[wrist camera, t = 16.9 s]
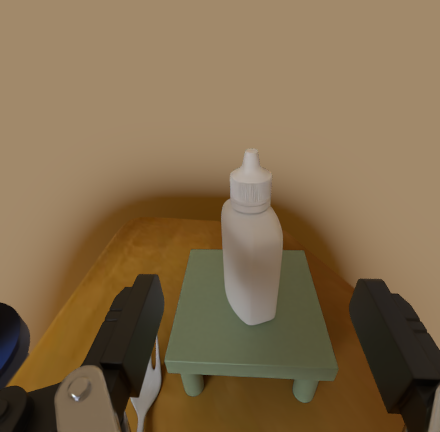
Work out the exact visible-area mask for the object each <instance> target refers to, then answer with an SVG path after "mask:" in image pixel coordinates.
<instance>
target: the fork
mask: <svg viewBox="0 0 440 432" xmlns="http://www.w3.org/2000/svg"><path fill="white" fill-rule="evenodd" d="M160 387H161V367H160V355H159V345H158V336H156V367H155V369H153V368H152V361H151V357H150V361H149V364H148V368H147V371H146V375H145V378H144V382H143V385H142V389H141V392H140V396H139V398H133V397H130V398H131V401H132V403H133V406H134V408H135V410H136V412H137V415H138V429H137V432H144V420H145V416H146V414H147V412H148V410H149V408H150V407H151V405H152V403H153V402H154V400H155V399H156V397H157V395H158V393H159V390H160Z"/></svg>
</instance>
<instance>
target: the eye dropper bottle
mask: <svg viewBox="0 0 440 432" xmlns="http://www.w3.org/2000/svg"><path fill="white" fill-rule="evenodd" d="M271 187H272V173H271V172H270V171H269V170H267V169H266V168H263V167H261V166H260V161H259V154H258V150H257V149H253V148H252V149H246V150H245V154H244V159H243V163H242V166H241V167H239V168H237V169H235V170H234V171H232V172H231V174H230V197H231V199H229V200H227V201H226V202H225V203H224V205H223V208H222V213H221V223H222V245H223V264H224V283H225V291H226V295H227V298H228V301H229V303H230V305H231V307H232V309H233V310H234V312H235V313H236V314H237V315H238V317H239V318H240V319H241V320H242V321H243V322H244V323H246V324H248V325H257V324H260V323H263V322H267V321H270V320H272V319H273V318H274V317H275V314H276V306H277V298H278V289H279V280H280V271H281V262H282V251H283V234H282V229H281V225H280V222H279V220H278V218H277V215H276V214H275V212H274V210H273V209H272V208H271V206H270V200H271Z"/></svg>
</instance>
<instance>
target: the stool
mask: <svg viewBox="0 0 440 432" xmlns="http://www.w3.org/2000/svg"><path fill="white" fill-rule="evenodd" d="M164 362H165V365H166V368H167V371H168V373H180V374H181V378H182V382H183V385H184V389H185V392H186V393H187V394H188V395H189V396H197V395H199V394H200V393H201V392H202V390H203V388H204V380H203V375H221V376H241V377H261V378H281V379H294V383H293V388H292V389H293V394H294V396H295V397H296V398H297V399H298V400H299V401H301V402H304V403H308V402H310V401H311V400H312V399H313V397H314V394H315V391H316V388H317V385H318V382H319V380H322V381H334V379H335V377H336V374H337V372H338V369H339V368H338V365H337V362H336V358H335V355H334V351H333V348H332V345H331V341H330V338H329V334H328V331H327V328H326V324H325V321H324V317H323V314H322V311H321V307H320V304H319V300H318V297H317V294H316V290H315V287H314V283H313V280H312V277H311V273H310V270H309V266H308V263H307V260H306V256H305V253H304V251H303V250H283V251H282V262H281V271H280V280H279V289H278V298H277V306H276V314H275V317H274V318H273V319H272V320H270V321H267V322H263V323H260V324H257V325H248V324H246V323H244V322H243V321H242V320H241V319H240V318H239V317H238V315H237V314H236V313H235V312H234V310H233V309H232V307H231V305H230V303H229V301H228V298H227V295H226V291H225V283H224V264H223V250H208V249H191V252H190V256H189V260H188V264H187V268H186V273H185V277H184V281H183V285H182V289H181V293H180V297H179V302H178V306H177V310H176V314H175V318H174V322H173V327H172V331H171V335H170V339H169V343H168V347H167V352H166V356H165V360H164Z"/></svg>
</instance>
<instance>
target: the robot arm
mask: <svg viewBox="0 0 440 432" xmlns="http://www.w3.org/2000/svg"><path fill="white" fill-rule="evenodd" d="M163 311H164V296H163V292H162V288H161V284H160V280H159V277H158V275H156V274H139V275H138V276H137V278H136V280H135V282H134V284H133V286H132V287H125V288H124V289H123V290H122V291H121V292H120V293H119V294H118V295H117V296H116V297H115V299H114V301H113V303H112V305H111V307H110V311H109V312H108V313H107V315H106V317H105V321H104V322H103V323H102V325H101V328H100V330H99V332H98V334H97V336H96V338H95V340H94V342H93V344H92V346H91V348H90V350H89V352H88V354H87V356H86V358H85V360H84V362H83V363H82V365H81V366H80V367H79V368H77V369H75V370H74V371H72V372H71V373H70V374H69V375H67V376H66V377H65V379H64V380H63V381H62V382H60V383H58V384H55V385H51V386H48V387H45V388H41V389H38V390H35V391H31V392H28V393H27V392H26V391H25V390H24V389H23V388H21V387H19V386H9V387H6V388H3V389H1V390H0V432H131V429H130V426H129V422H128V419H127V416H126V412H125V409H126V406H127V402H128V399H129V397H133V398H139V396H140V392H141V389H142V385H143V382H144V378H145V375H146V371H147V368H148V364H149V361H150V357H151V354H152V350H153V347H154V343H155V340H156V336H157V333H158V329H159V326H160V322H161V319H162V315H163ZM349 312H350V317H351V320H352V323H353V326H354V328H355V331H356V333H357V336H358V338H359V341H360V343H361V346H362V349H363V351H364V354H365V356H366V359H367V361H368V364H369V366H370V369H371V371H372V374H373V377H374V379H375V382H376V384H377V387H378V389H379V392H380V394H381V397H382V400H383V402H384V405H385V407H386V410H387V412H388V413H391V414H401V415H402V418H403V420H404V422H405V425H404V427H403V430H402V432H440V350H439V348H438V347H437V346H436V344H435V342H434V341H433V339H432V337H431V336H430V334H429V333H427V330H426V328H425V327H424V325H423V323H422V322H420V319H419V317H418V315H417V314H416V312H415V311H414V309H413V308H412V306H411V305H410V304H409V303H408V302H407V301H405V300H404V299H403V298H402V297H401V296H400V295H399V294H392V293H390V291H389V289H388V287H387V286H386V284H385V282H384V281H383V280H381V279H359V280H358V282H357V285H356V287H355V290H354V293H353V296H352V298H351V301H350V305H349Z"/></svg>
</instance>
